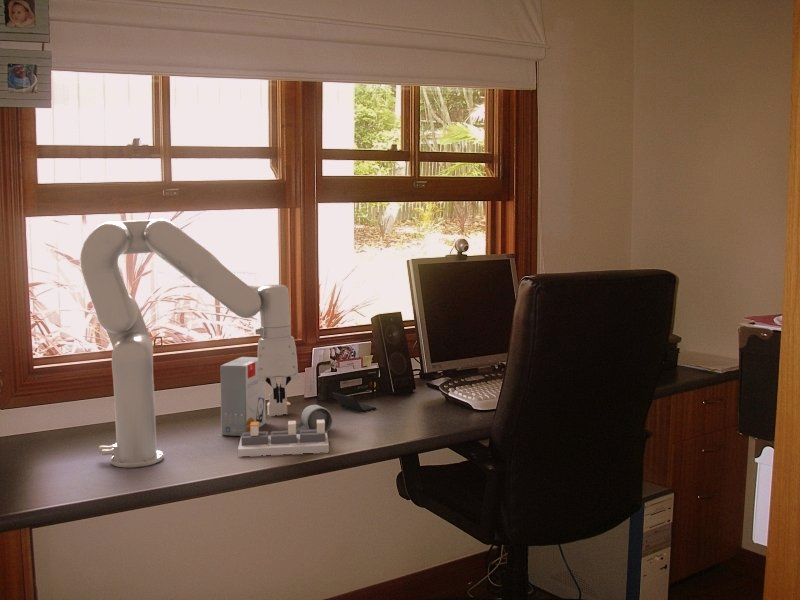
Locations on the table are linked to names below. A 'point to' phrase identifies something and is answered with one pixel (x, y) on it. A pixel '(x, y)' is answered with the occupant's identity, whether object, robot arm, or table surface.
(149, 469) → the table surface
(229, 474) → the table surface
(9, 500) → the table surface
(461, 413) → the table surface
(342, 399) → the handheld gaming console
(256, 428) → the breaker handle
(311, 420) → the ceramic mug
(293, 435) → the white slotted rack
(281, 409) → the architectural model
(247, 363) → the hard drive box
